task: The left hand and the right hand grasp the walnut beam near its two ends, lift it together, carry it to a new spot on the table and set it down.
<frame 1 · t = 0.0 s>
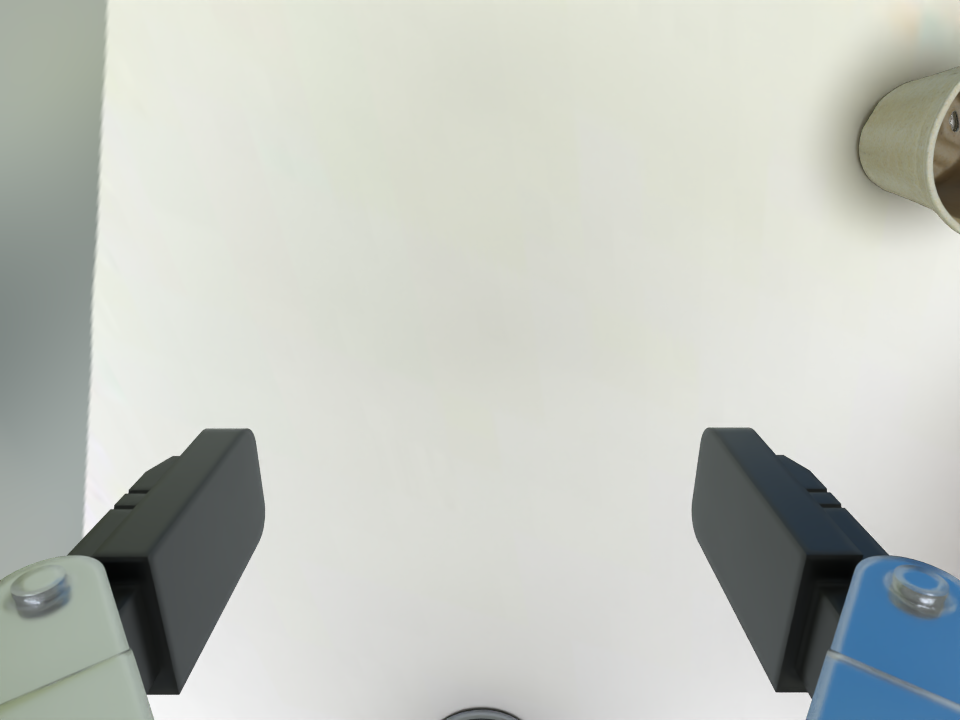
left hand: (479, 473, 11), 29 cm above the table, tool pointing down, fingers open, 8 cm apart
flower pot: (910, 135, 37), on the table
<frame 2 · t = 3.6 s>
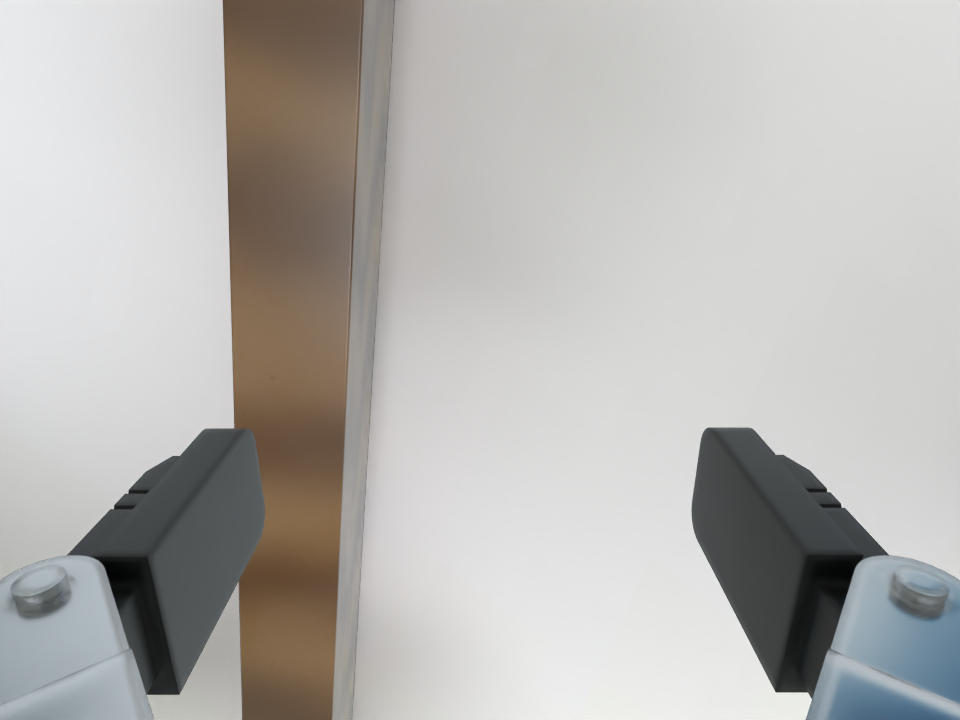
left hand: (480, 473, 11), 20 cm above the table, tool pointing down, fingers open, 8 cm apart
beam: (327, 377, 32), on the table
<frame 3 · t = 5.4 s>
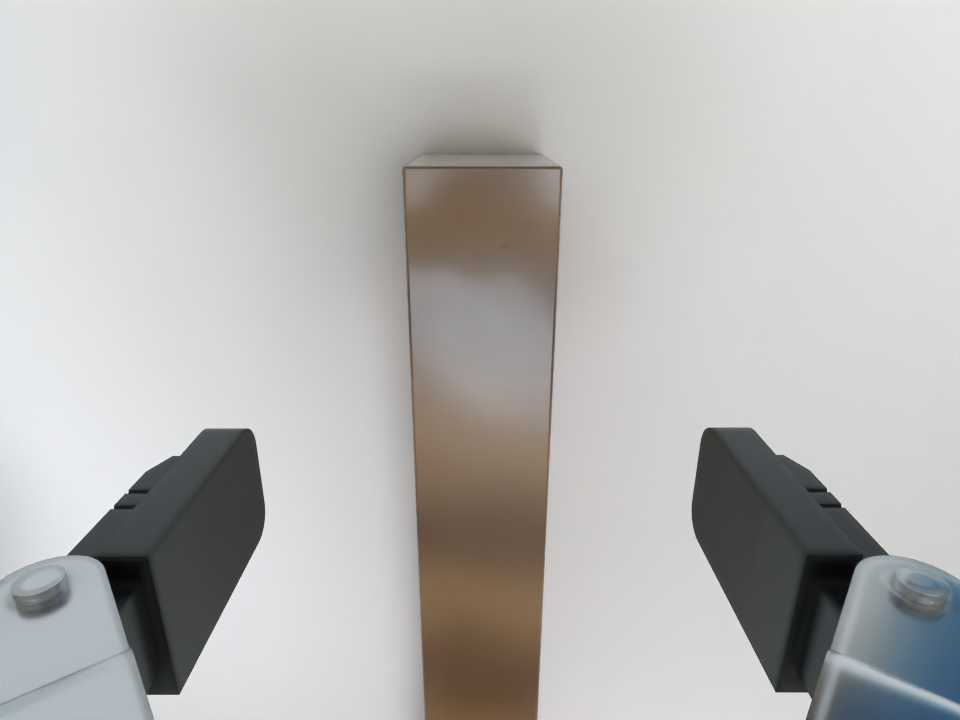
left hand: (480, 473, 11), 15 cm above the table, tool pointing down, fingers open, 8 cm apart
beam: (480, 702, 34), on the table
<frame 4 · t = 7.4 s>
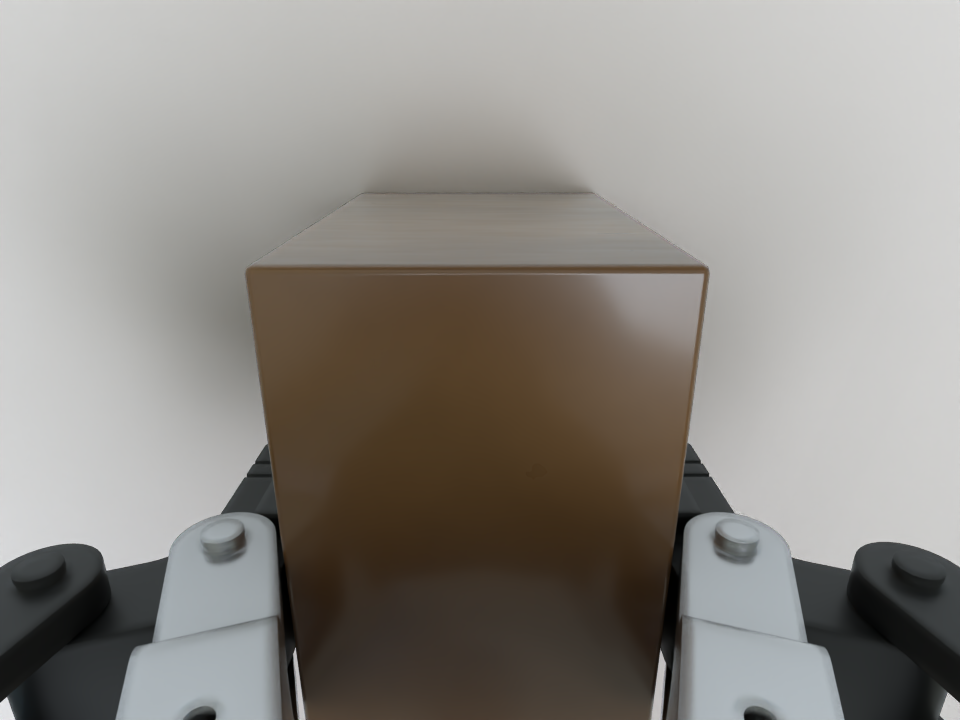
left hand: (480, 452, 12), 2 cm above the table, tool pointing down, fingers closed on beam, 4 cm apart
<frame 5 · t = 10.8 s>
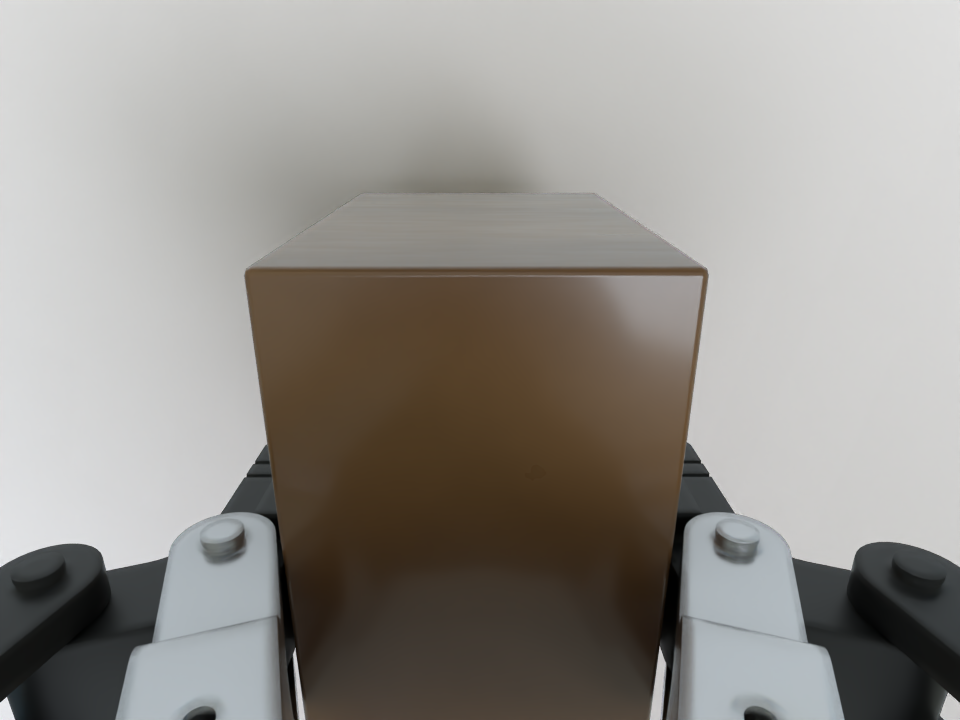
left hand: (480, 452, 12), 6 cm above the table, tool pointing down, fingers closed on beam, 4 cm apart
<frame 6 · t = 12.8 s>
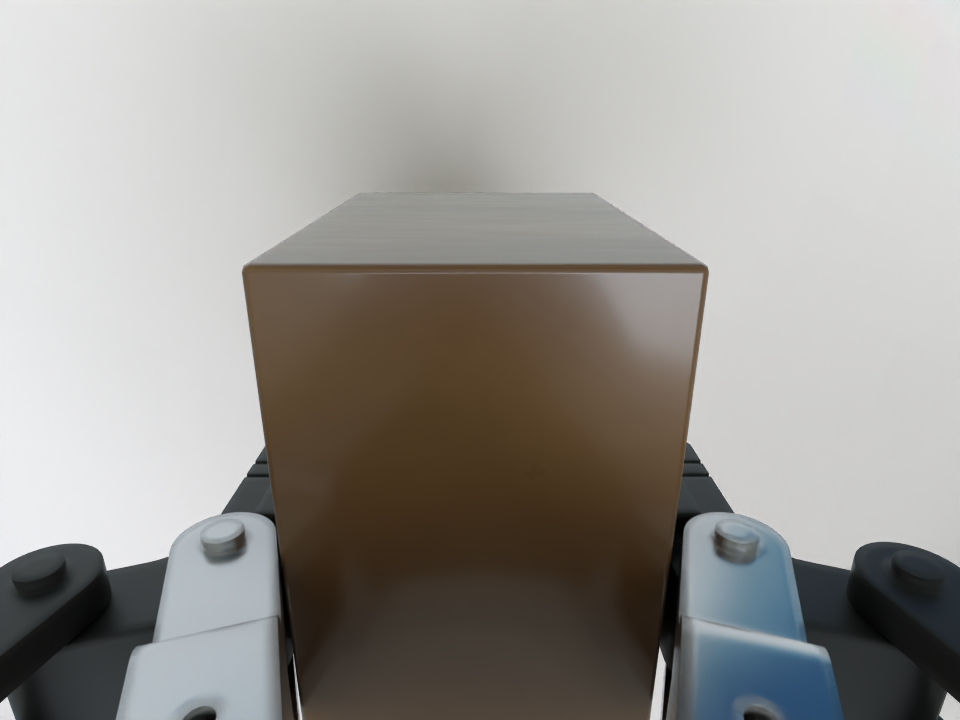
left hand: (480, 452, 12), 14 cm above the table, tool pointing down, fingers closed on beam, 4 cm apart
when the right hand's fingers open (1 cm above the table, at t = 15.2 s): beam drops 1 cm, on the table.
when the left hand's fingers open (3 cm above the table, at t = 15.4 s): beam stays where it is, on the table.
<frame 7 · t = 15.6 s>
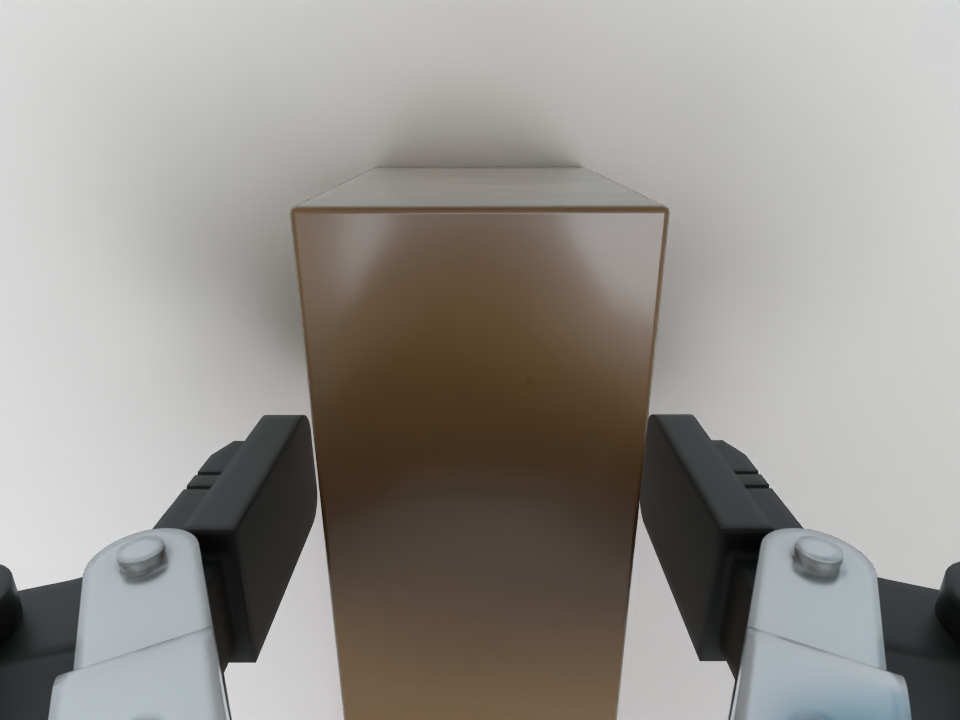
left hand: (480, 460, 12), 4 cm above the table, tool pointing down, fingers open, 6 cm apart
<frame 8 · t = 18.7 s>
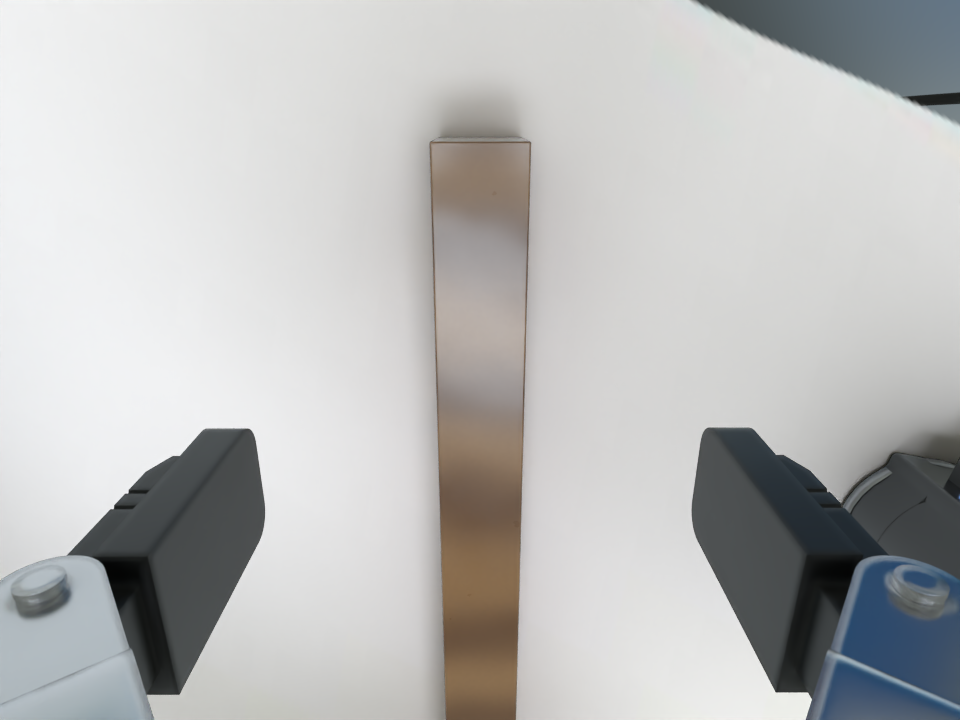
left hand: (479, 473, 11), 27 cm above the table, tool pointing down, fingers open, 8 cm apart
beam: (480, 560, 45), on the table
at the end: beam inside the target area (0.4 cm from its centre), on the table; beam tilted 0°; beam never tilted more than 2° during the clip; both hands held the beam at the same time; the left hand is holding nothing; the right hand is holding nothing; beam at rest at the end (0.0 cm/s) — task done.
